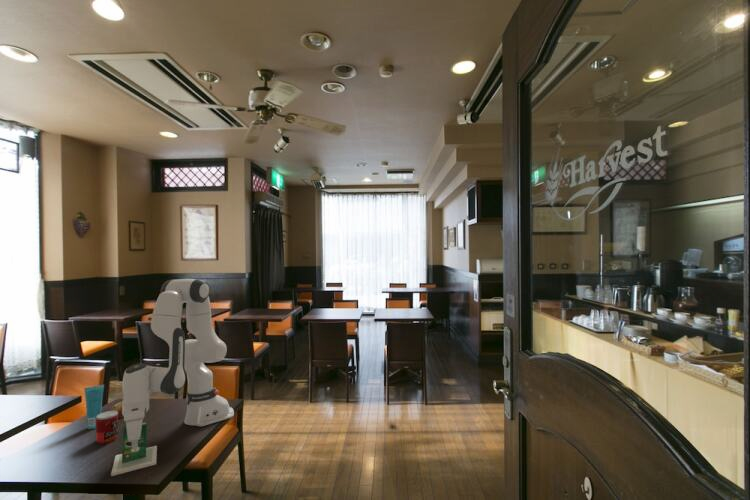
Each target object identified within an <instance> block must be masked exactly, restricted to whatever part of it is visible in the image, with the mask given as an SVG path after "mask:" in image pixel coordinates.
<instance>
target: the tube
mask: <svg viewBox="0 0 750 500" xmlns="http://www.w3.org/2000/svg"><path fill="white" fill-rule="evenodd" d="M104 389H105V384H100V385H94V386H86V387H83V390H84V391H83V392H84V397H85V408H86V423H87V429H88V430H94V429H95V430H96V416H97V415H99V414H101V413H102V407H103V406H102V405H103V395H104Z"/></svg>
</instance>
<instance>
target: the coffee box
mask: <svg viewBox="0 0 750 500" xmlns="http://www.w3.org/2000/svg"><path fill="white" fill-rule="evenodd" d="M147 434H148V421H144V422H142V429H141V436H140V439H139V440H138V447H137V448H136V449H132V442H129V441H128V438H127V428H126V425H123V428H122V449H121V451H122V453H121V454H122V462H127V461H131V460H134V459H138V458H143V457H146V448H147V442H148V441H147V439H148V437H147V436H148V435H147Z"/></svg>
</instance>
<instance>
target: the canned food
mask: <svg viewBox="0 0 750 500" xmlns="http://www.w3.org/2000/svg"><path fill="white" fill-rule="evenodd" d="M118 435H119V418H118V412H117V411H109V410H108V411H104V412H101V414H99V415H97V416H96V428H95V441H96V442H95V443H97V444H99V445H100V444H101V445H102V444H108V443H110V442H111V443H112V442H113V441H115V440H116V439H118Z"/></svg>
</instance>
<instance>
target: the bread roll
mask: <svg viewBox="0 0 750 500" xmlns="http://www.w3.org/2000/svg"><path fill="white" fill-rule="evenodd" d="M108 411H117V412H118V419H122V418H123V419H124V416H123V415H122V401H121V402H117V403H116V404H114V405H112V406H111V407H110V409H109V410H108Z"/></svg>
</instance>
